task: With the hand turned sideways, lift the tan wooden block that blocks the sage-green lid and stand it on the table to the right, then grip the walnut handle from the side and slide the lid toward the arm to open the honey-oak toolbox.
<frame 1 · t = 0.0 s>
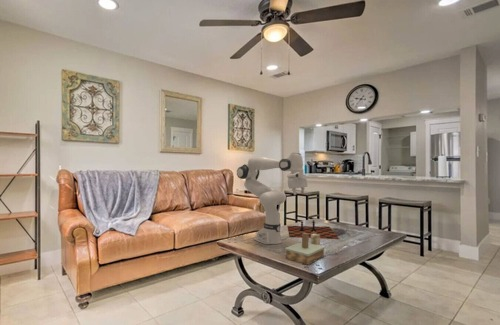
hand: (298, 194, 192), 39 cm above the table, tool pointing down, fingers open, 8 cm apart
lid: (305, 241, 174), point 10 cm above the table, slide at 0.0 cm
tan wooden block: (315, 252, 184), on the table
toolbox: (305, 257, 174), on the table
chessboard: (310, 232, 239), on the table
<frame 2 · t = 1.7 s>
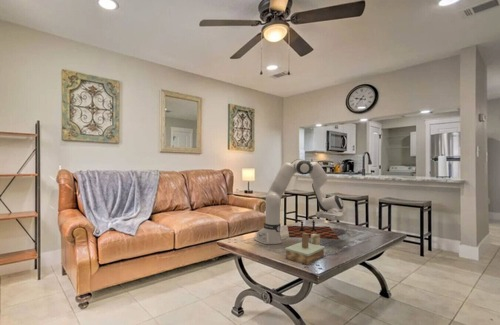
hand: (324, 217, 194), 22 cm above the table, tool horizontal, fingers open, 8 cm apart
nothing on the table moved.
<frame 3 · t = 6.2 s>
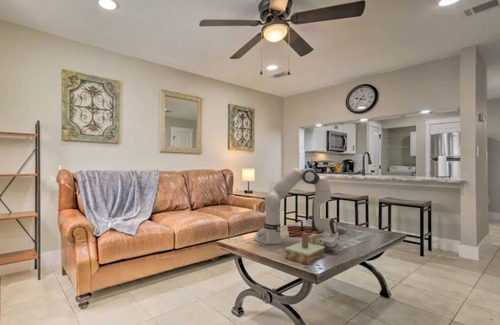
hand: (314, 242, 184), 7 cm above the table, tool horizontal, fingers closed on tan wooden block, 4 cm apart
tan wooden block: (315, 252, 184), on the table, touching gripper
everything else where it was.
when the fingers open (8 cm above the table, at t = 11.4 s): tan wooden block drops 1 cm, on the table.
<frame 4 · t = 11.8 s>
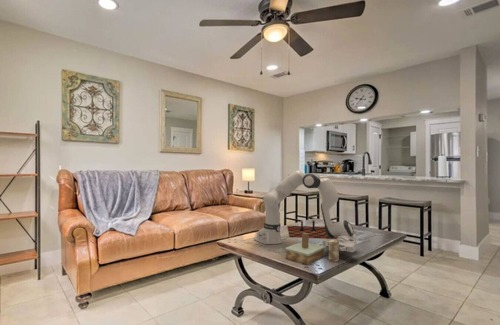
hand: (333, 247, 169), 8 cm above the table, tool horizontal, fingers open, 8 cm apart
tan wooden block: (333, 260, 170), on the table
everything else where it was.
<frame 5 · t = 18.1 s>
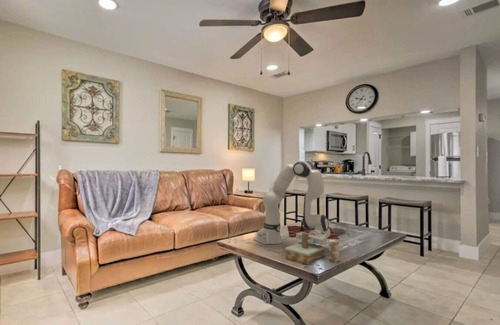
hand: (304, 240, 174), 11 cm above the table, tool horizontal, fingers closed on lid, 3 cm apart
lid: (305, 241, 174), point 10 cm above the table, slide at 0.0 cm, touching gripper
everything else where it was.
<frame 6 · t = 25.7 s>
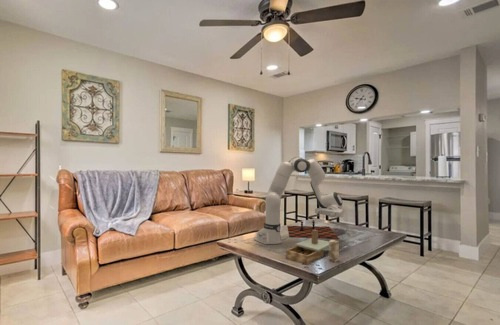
hand: (323, 213, 193), 25 cm above the table, tool horizontal, fingers open, 8 cm apart
lid: (314, 237, 184), point 10 cm above the table, slide at 12.4 cm
everything else where it was.
at the end: lid slide at 12.4 cm; tan wooden block moved 16.8 cm from its start; tan wooden block tilted 0° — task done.
